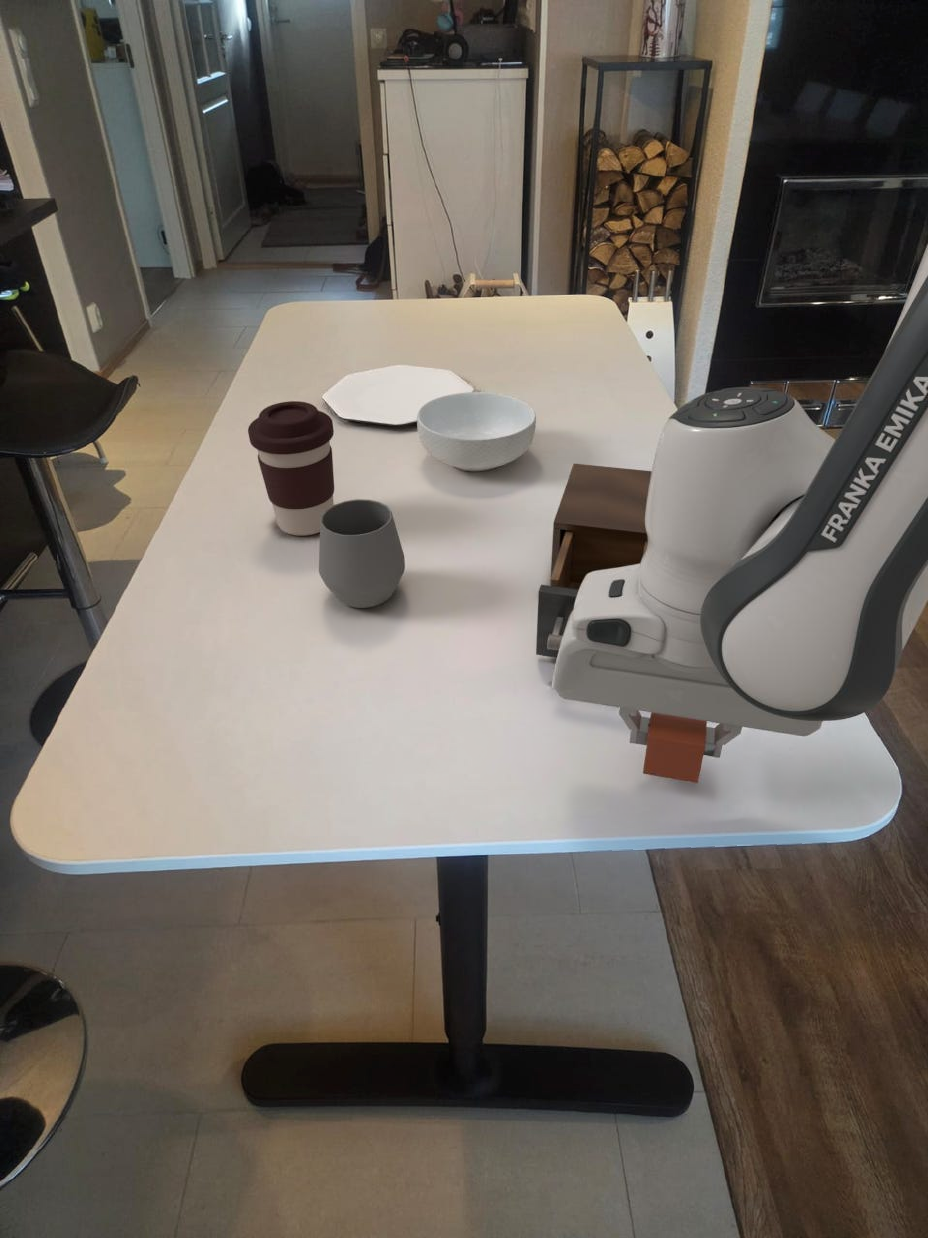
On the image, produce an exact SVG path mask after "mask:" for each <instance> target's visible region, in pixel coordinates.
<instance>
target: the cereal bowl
mask: <svg viewBox="0 0 928 1238" xmlns="http://www.w3.org/2000/svg"><path fill="white" fill-rule="evenodd" d="M536 424H537V415H536V412H535V410H534V408H533V407H532V406H531V405H530V404H529V403H527V402H526V401H524V400H522V399H520V398H518V397H515V396H512V395H508V394H503V393H498V392H487V391H474V392H466V393H456V394H450V395H446V396H442V397H438V398H436V399H433V400H431V401H429V402H427V403H426V404H424V405H423V406H422V407H421V408H420V409H419V411H418V414H417V423H416V425H417V428H416V429H417V434H418V437H419V440H420V443H421V445H422V446H423V448H424V449H425V450H426V451H427V453H428V454H429V455H430V456H432V457H433V458H434V459H436V460H437V461H439V462H441V463H444V464H446V465H449V466H452V467H454V468H456V469H459V470H462V471H467V472H484V471H489V470H493V469H495V468H498V467H501V466H505V465H507V464H509V463H512V462H513V461H515V460H517V459H518V458H520V457H521V456H522V455H523V454H524V453H526V451H527V450H528V449H529V447H530V446H531V444H532V442H533V439H534V436H535V434H536V433H535V432H536Z"/></svg>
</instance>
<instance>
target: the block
mask: <svg viewBox="0 0 928 1238" xmlns="http://www.w3.org/2000/svg"><path fill="white" fill-rule="evenodd" d="M649 718H650V726H649V733H648V740H647V746H646V745H645V754H644V762H643V769H642V774H643V775H647V776H648V775H649V776H653V777H660V778H665V779H671V780H677V781H681V782H688V783H694V784H699V780H700V775H701V770H702V764H703V760H704V756H705V755H704V751H705V746H706V727H708V726H707V725H708V721H702V720H696V719H689V718H683V717H677V716H670V715H664V714H658V713H651V712H650V717H649Z"/></svg>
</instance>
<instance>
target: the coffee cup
mask: <svg viewBox="0 0 928 1238" xmlns="http://www.w3.org/2000/svg"><path fill="white" fill-rule="evenodd" d="M258 414H259V415H258V417H257V418H255V419H254V420H253V421H252V422H250V424H249V425H248V428H247V434H248V439H249V443H250V445H251V447H253V448H254V449H256V450H257V461H258V464H259V468H260V471H261V476H262V479H263V482H264V486H265V489H266V493H267V497H268V499H269V502H270V503H271V505H272V509H273V512H274V513H273V514H274V516H275V519H276V524H277V526H278V528H279V529H280V531H282V532H284V533H286V534H288V535H291V536H312V535H315V534H318V533H319V534H320V522H321V516H322V514H323V513H324V512H325V511H326V510H327V509H328V508H330V507H332V506H333V505H335V503H334V494H335V476H334V475H335V474H334V461H333V448H332V446H331V443H330V441H331V440H332V439H333V437H334V434H335V433H334V432H335V430H334V429H335V428H334V423H333V419H332V418H331V416H330V415H328V414H327V413H326V412H324V411H320V410H319V409H318V408H317V407H316V406H315V405H314V404H312V403H309V402H306V401H299V400H297V401H295V400H289V401H282V402H278V403H274V404H271V405H268V406H266V407H265V408H264V409H262V410H261V411H260V413H258Z"/></svg>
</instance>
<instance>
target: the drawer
mask: <svg viewBox="0 0 928 1238" xmlns="http://www.w3.org/2000/svg"><path fill="white" fill-rule="evenodd" d="M647 545H648V539H639V538H631V537H622V536H614V535H605V534H597V533H588V532H579V531H571V530H566V532H565V536H564V539H563V542H562V545H561V548H560V551H559V555H558V558H557V561H556V564H555V567H554V570H553V573H552V577H551V576H550V580H551V582H550V581H549V583H550V584H548V585H547V584H540V586H539V589H538V594H537V595H538V596H537V597H538V599H537V621H536V643H535V645H536V646H535V655H536V656H544V657H549V658H555V659H557V656H558V652H559V648H560V644H561V641H562V637H563V634H564V631H565V628H566V625H567V622H568V618H569V616H570V614H571V612H572V611H573V609H574V604H575V600H576V597H577V593H578V591H579V588H580V586H581V584H582V582H583V580H584V578H585V576H586V575H587V574H588V573H590V572H593V571H598V570H604V569H611V568H618V567H624V566H630V565H635V564H640V563H641V560H642V557H643V555H644V554H645V552H646V549H647Z"/></svg>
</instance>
